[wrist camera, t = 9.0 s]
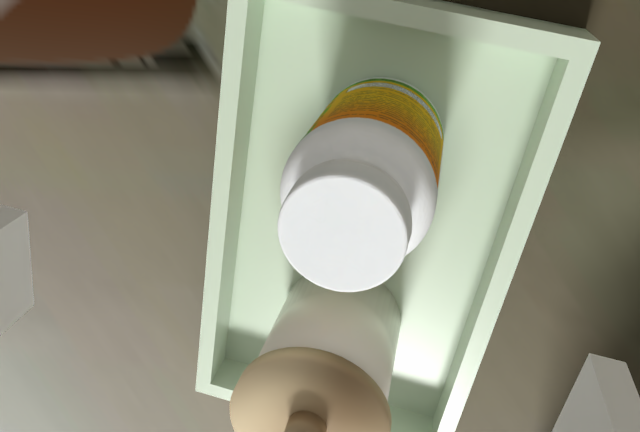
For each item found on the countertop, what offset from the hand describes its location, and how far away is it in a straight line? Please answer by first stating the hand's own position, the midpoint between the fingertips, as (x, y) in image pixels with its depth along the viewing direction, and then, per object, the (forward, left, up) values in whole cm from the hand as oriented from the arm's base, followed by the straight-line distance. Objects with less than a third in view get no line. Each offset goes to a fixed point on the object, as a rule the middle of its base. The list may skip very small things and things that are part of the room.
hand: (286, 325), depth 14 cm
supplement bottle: (0, 0, -14) cm, 14 cm away
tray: (0, -5, -15) cm, 16 cm away
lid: (0, -10, -7) cm, 12 cm away
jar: (0, -10, -14) cm, 17 cm away
